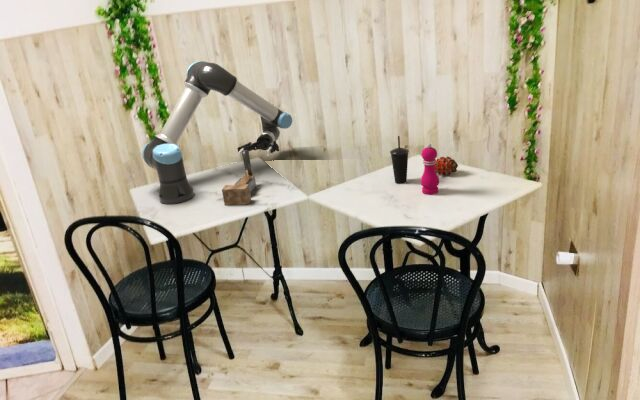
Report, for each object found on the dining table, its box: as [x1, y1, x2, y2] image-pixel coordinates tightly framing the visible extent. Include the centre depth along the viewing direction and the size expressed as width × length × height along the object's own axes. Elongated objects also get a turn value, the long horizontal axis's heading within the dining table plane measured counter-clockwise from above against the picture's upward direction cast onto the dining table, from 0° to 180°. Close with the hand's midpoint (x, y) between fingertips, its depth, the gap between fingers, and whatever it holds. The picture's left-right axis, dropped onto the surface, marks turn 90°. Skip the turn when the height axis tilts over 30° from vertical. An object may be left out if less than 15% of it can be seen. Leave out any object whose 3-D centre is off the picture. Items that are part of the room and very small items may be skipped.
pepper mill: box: [420, 143, 440, 196], centre depth 204 cm, size 7×7×20 cm
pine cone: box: [435, 156, 459, 177], centre depth 223 cm, size 8×8×12 cm
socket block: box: [221, 184, 252, 206], centre depth 218 cm, size 10×5×7 cm, turn 80°
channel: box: [234, 176, 257, 197], centre depth 228 cm, size 7×10×5 cm
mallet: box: [236, 150, 256, 185], centre depth 227 cm, size 4×15×15 cm, turn 170°
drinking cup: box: [389, 135, 410, 185], centre depth 217 cm, size 8×8×20 cm
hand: (253, 154), depth 239 cm, fingers open, 13 cm apart
